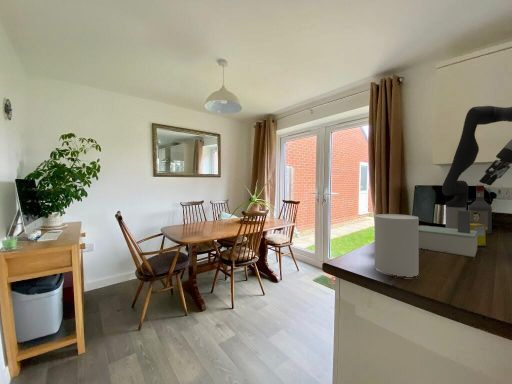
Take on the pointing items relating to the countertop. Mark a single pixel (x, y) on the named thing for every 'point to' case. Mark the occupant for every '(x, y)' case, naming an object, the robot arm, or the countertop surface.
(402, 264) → the canister
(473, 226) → the supplement box
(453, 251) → the carton
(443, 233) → the carton lid
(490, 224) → the liquor
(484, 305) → the countertop surface
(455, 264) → the countertop surface
